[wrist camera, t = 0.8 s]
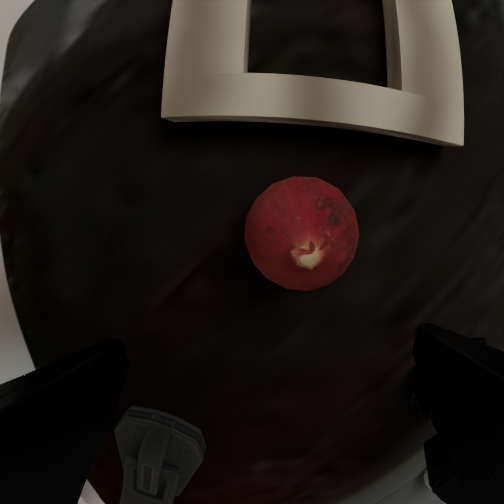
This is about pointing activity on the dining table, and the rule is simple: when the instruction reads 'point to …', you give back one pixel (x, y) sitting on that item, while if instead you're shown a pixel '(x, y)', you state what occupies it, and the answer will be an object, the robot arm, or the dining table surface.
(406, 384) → the dining table surface
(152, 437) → the zipper pull
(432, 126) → the cutout board
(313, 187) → the onion
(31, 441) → the robot arm
